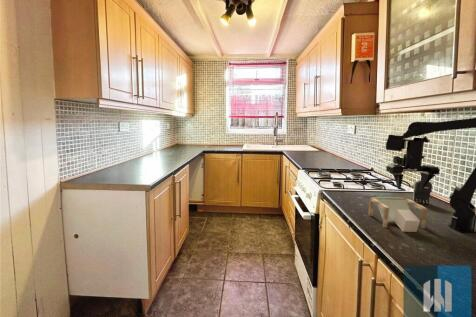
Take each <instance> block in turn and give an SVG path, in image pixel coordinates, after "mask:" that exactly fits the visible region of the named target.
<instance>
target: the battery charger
mask: <svg viewBox="0 0 476 317" xmlns="http://www.w3.org/2000/svg"><path fill="white" fill-rule="evenodd" d="M420 182H421V179H420V180H416V181H415V182H414V184H413V185H414V186H413V195H412V201H414V202H416V203H418V204H420V205H429V204H430V196H431V193H432V190H433V183H432V182H431V181H429V182H428V183H427V185H426V186H425V187H424V188H423V190H420Z"/></svg>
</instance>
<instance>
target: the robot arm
mask: <svg viewBox="0 0 476 317" xmlns="http://www.w3.org/2000/svg"><path fill="white" fill-rule="evenodd" d="M465 129H476V117H472V118H464V119H463V118H462V119H453V120H446V121H445V120H444V121H438V122H437V121H414V122H411V123H410V124H409V125H408V126H407V130H406V131H405V132H404V133H403V134H402V135H401V134H400V135H397V134H388V137H387V141H386V142H385V151H394V152H403V150H405V151H406V152H405V153H403V157H400V156H398V155H397V156H395V155H394V156H393V159H392V162H393V164H388V165H387V166H386V168H385V171H387V172H389V174H392V176H393V178H394V180H395V185H396V188H397V190H401V187H402V185H403V184H402V183H403V179H404V174H403V173H404V172H419V174H420V180H421V182H420V190H423V188H424V187H425V186H426V185H427V183H428V182H431V180H433V178H434V177H436V176H437V175H440V168H439V167H438V166H435V165H430V164H428V165H427V164H423V165H422V161H423V159H425V156H424V155H423V153H424V145H425V143H431V140H430V139H429V138H428V137H427V136H426V135H428V134H432V133H436V132H445V131H446V132H448V131H455V130H465ZM424 135H425V136H424ZM420 136H423V137H420ZM413 137H414V138H413ZM409 138H410V139H409ZM411 138H412V139H411ZM475 192H476V166H475V167H474V168H473V170H472V171H471V173H470V174H469V176H468V177H467V179H466V181H465V182H464V184H463V185H461V186H460V187H459V186H457V185H455V187H454V189H453V192H452V193H450V194H449V197H448V199H449V205H450V207H451V208H452V209H453V210H454V211H453V213H452V216H451V220H450V223H449V224H447V225H448V226H449V227H450V228H452V229H454V230H456V231H457V232H459V233H475V234H476V229H475V227H476V206H475V205H474V204H473V203H472V199H473V196H474V195H475Z"/></svg>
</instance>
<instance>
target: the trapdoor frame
mask: <svg viewBox="0 0 476 317" xmlns="http://www.w3.org/2000/svg"><path fill="white" fill-rule="evenodd" d="M377 199H405V200H406V201H407V203H408V205H411V206H413V207H415V208H417V210H421V213H420V219H419V220H420V223H419V228H420V229H425V228H426V222H427V212H428V208H427V207H426V206H424V205H423V204H418V203H416V202H414V201H413V199H410V198H408V197H397V198H394V197H373V196H370V197H369V201H368V202H369V203H368V213H367V215H368V216H369V217H373V212H374V205H377V207H378V206H380V207H381V208H383V209H384V215H383V219H382V227H383V228H388V224H389V222H388V214H389V207H388V206H386V205H384V204H383V203H381V202H380V201H378V200H377Z"/></svg>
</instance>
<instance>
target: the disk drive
mask: <svg viewBox="0 0 476 317" xmlns="http://www.w3.org/2000/svg"><path fill="white" fill-rule="evenodd" d="M372 197H394V198H398V197H396V196H395V195H389V194H386V195H385V194H373V196H372Z"/></svg>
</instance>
